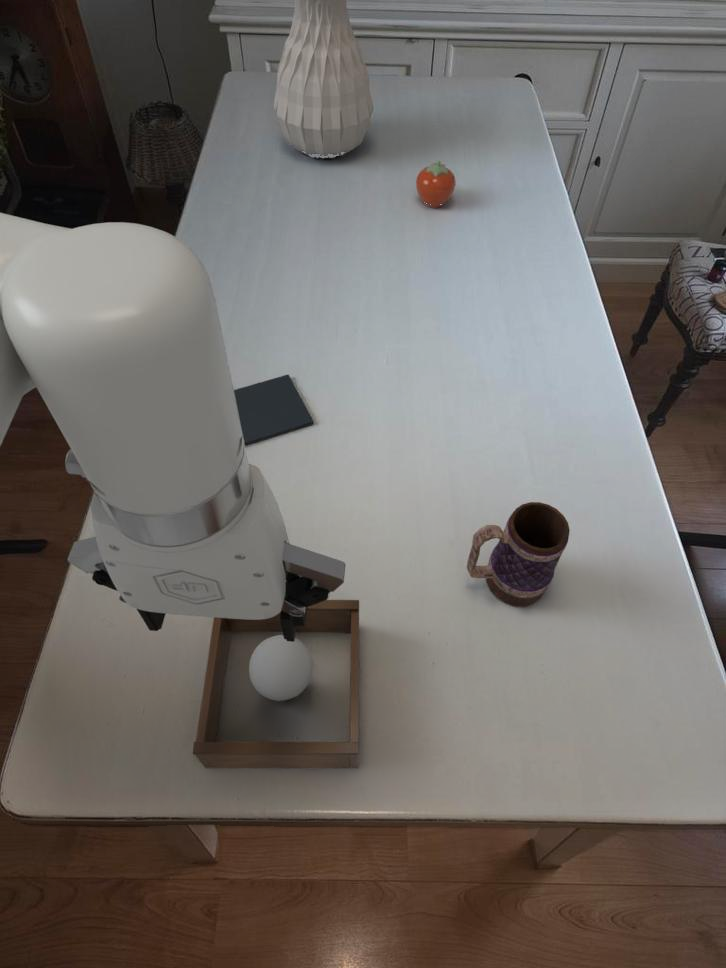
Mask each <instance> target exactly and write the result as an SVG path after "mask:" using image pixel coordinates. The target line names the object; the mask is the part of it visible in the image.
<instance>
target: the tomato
mask: <svg viewBox="0 0 726 968" xmlns="http://www.w3.org/2000/svg"><path fill="white" fill-rule="evenodd" d="M456 185H457V184H456V177H455V174H454V172H452V170H450V169H449V168H447V167H446V164H443V163H442V162H441V160H439V159H437V160H436V161H435V162H432V163H431V164H430V165H428V166H426V167H424V168H423V169H421V170H420V171H419V173H418V174H417V176H416V179H415V186H416V192H417V195H418V197H419V200H420V201H421V202H422V203H423V204H424V205H425V206H427V207H429V208H433V209H435V208H441V207H442V206H444V205H445V204H446V203H448V202H449V200H450V199H451V197H452V195H453V194H454V191H455V189H456ZM424 202H425V203H424ZM426 203H427V204H426ZM430 204H431V205H430ZM440 204H442V205H440Z"/></svg>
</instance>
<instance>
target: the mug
mask: <svg viewBox="0 0 726 968" xmlns="http://www.w3.org/2000/svg"><path fill="white" fill-rule="evenodd" d="M570 531H571V530H570V525H569V522H568V520H567V518H566V517H565V515H564V514H563V513H562V512H561V511H559V509H557V508H555V507H553V505H550V504H548V503H543V502H539V501H530V502H526V503H523V504H521V505H519V506H518V507H516V508H515V509H514V511H513V512H512V513H511V514H510V516H509V517H508V520H507V521H506V523H505V527H504V529H502V528H501V526H500V525H497V524H486V525H484V526H481V527H480V528H479V529H478V530H477V531H475V533H474V534H473V536H472V543H471V544H472V545H471V548H470V552H469V555H468V558H467V563H466V570H467V572H468V574H469V575H470V578H472V579H477V580H478V579H485V581H486V585H487V586H488V590H489V591H490V592H491V593H492V594H493V596H495V597H496V599H498V600H500V601H501V602H503V603H505V604H506V605H507V604H508V605H511V606H514V607H527V606H530V605H533V604H535V603H537V602H538V601H539V600H541V598H542V597H543V595H544V594H545V592H546V591H547V589H548V587H549V586H550V584H551V582H552V581H553V579H554V575H555V570H556V567H557V566H558V564H559V561H560V559H561V556H562V555H563V553H564V551H565V549H566V547H567V545H568V543H569V536H570ZM494 539H498V541H497V543H496V545H495V546H494V548H493V549H492V551H491V553H490V555H489V559H488V562H487V563H488V564H487V565H477V564H478V560H479V558H480V553H481V552H480V551H481V548H482V546H483V545H484V544H485V543H486V542H489V541H490V540H494Z"/></svg>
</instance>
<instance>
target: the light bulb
mask: <svg viewBox="0 0 726 968" xmlns="http://www.w3.org/2000/svg"><path fill="white" fill-rule="evenodd" d="M313 669H314V665H313V658H312V654H311V653H310V650H309V649H308V647H307V646H306V645H305V644H304V643H303V642H302V640H300V639H298V638H296V637H295V640H294V642H291V641H287V640H286V639H284V636H283V634H278V635H277V634H276V635H273V636H269V637H268V638H266V639H264V640H262V642H260V643H259V644H258V645H257V646H256V648H255V649H254V651H253V652H252V655H251V657H250V659H249V664H248V673H249V678H250V681H251V684H252V686H253V687H254V688H255V690H256V691H257V693H259V694H260V695H261V696H263V697H264V698H266V699H268V700H272V701H278V702H281V703H289V702H292V701H294V700H296V698H297V696H299V695H301V693H302V692H304V691H305V689H306V688H307V686H308V685H309V683H310V682H311V679H312V676H313Z"/></svg>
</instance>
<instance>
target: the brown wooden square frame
mask: <svg viewBox="0 0 726 968" xmlns="http://www.w3.org/2000/svg"><path fill="white" fill-rule="evenodd" d="M280 614H281V612H280V613H279V614H277V615H276V616H274V617H271V618H268V619H261V620H248V619H231V618H216V617H213V622H212V627H211V635H210V640H209V649H208V654H207V660H206V661H207V662H206V669H205V675H204V682H203V689H202V695H201V704H200V709H199V716H198V723H197V729H196V736H195V741H194V742H193V746H192V752H191V753H192V755H193V756H195V757H196V759H197V760H198V761H199V763H200V764H201V765H202V766H203V768H204V769H359V759H360V758H359V757H360V600H359V599H327V600H325V601H322V602H319V603H317V604H314V605H312V606H309V607H307V615H306V623H305V626H296V633H297V632H299V633H307V632H308V633H350V677H349V678H350V679H349V680H350V682H349V685H350V689H349V691H350V692H349V741H218V734H219V726H220V717H221V712H222V711H221V710H222V702H223V695H224V688H225V687H224V686H225V681H226V679H225V678H226V671H227V665H228V656H229V649H230V640H231V632H265V633H266V632H271V633H272V632H277V633H278V632H280V633H281V632H282V633H283V631H282V626H281V621H280Z"/></svg>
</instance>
